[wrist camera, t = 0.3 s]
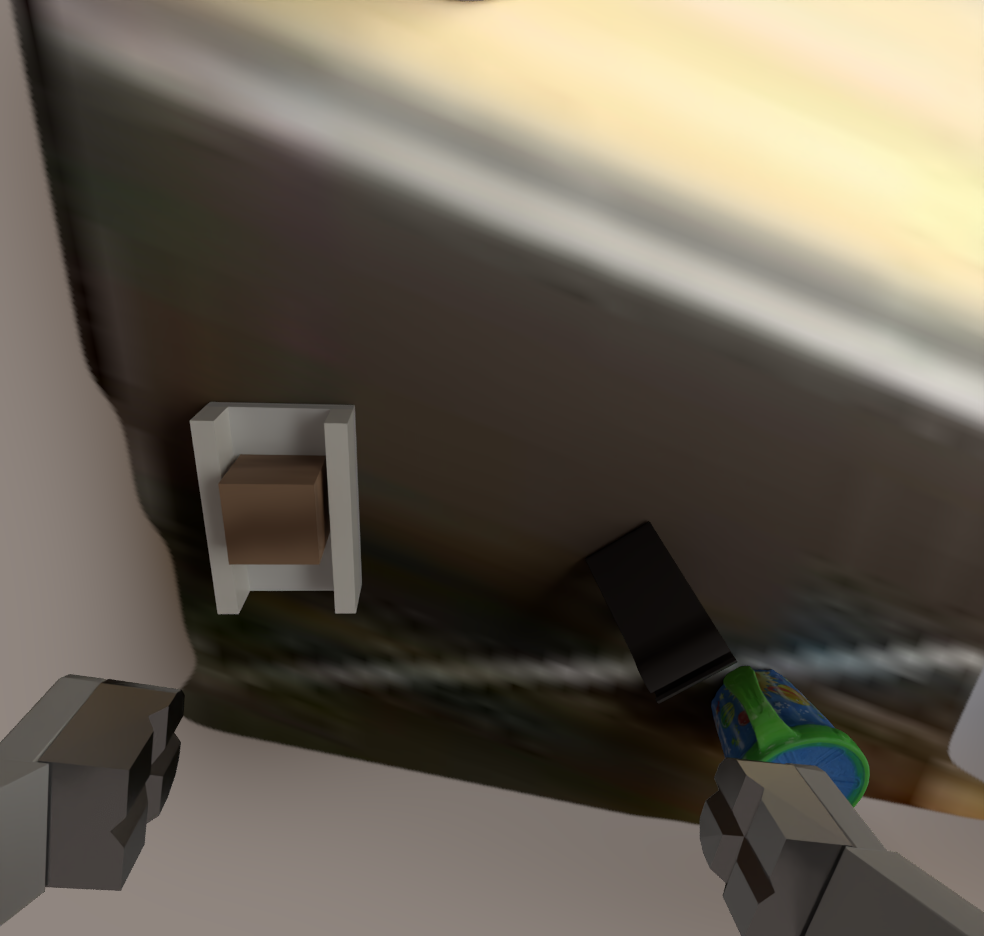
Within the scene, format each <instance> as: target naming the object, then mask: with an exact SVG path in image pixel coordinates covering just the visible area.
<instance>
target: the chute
mask: <svg viewBox="0 0 984 936" xmlns="http://www.w3.org/2000/svg"><path fill="white" fill-rule="evenodd" d="M190 427H191V434H192V441H193V447H194V454H195V461H196V468H197V475H198V482H199V488H200V495H201V502H202V509H203V516H204V523H205V530H206V536H207V543H208V550H209V557H210V564H211V571H212V577H213V584H214V591H215V598H216V605H217V612H218V614H239V613H240V610H241V608H242V606H243V604H244V602H245V600H246V598H247V596H248V594H249V592H250V591H324V590H334V598H335V613H356V610H357V605H358V600H359V595H360V590H361V585H362V576H361V550H360V525H359V500H358V474H357V449H356V424H355V405H329V404H282V403H235V402H209V403H208V404H207V405H206V406H205V407H204V408H203V409H202V410H201V411H200V412H199V413H197V414H196V415H195V416H194V417H193V418H192V419H191V420H190ZM240 454H252V455H320V456H326V464H327V480H328V497H329V514H330V534H329V537H328V540H327V543H326V546H325V549H324V552H323V555H322V558H321V562H320V565H229V561H228V554H227V546H226V539H225V531H224V524H223V516H222V509H221V501H220V494H219V486H218V483H219V482H220V481H221V479H222V478H223V477H224V475H225V474H226V473H227V471H228V470H229V469H230V467H231V466H232V465H233V464H234V462H235V461H236V460H237V458H238V457H239V456H240Z"/></svg>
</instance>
